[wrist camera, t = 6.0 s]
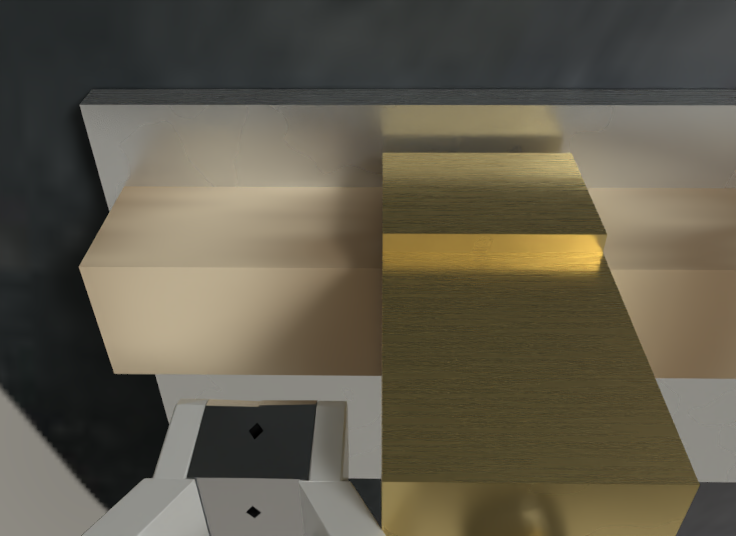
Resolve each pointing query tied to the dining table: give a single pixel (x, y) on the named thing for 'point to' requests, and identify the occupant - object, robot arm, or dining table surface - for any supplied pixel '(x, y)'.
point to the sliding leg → (514, 360)
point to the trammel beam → (368, 279)
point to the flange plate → (365, 169)
